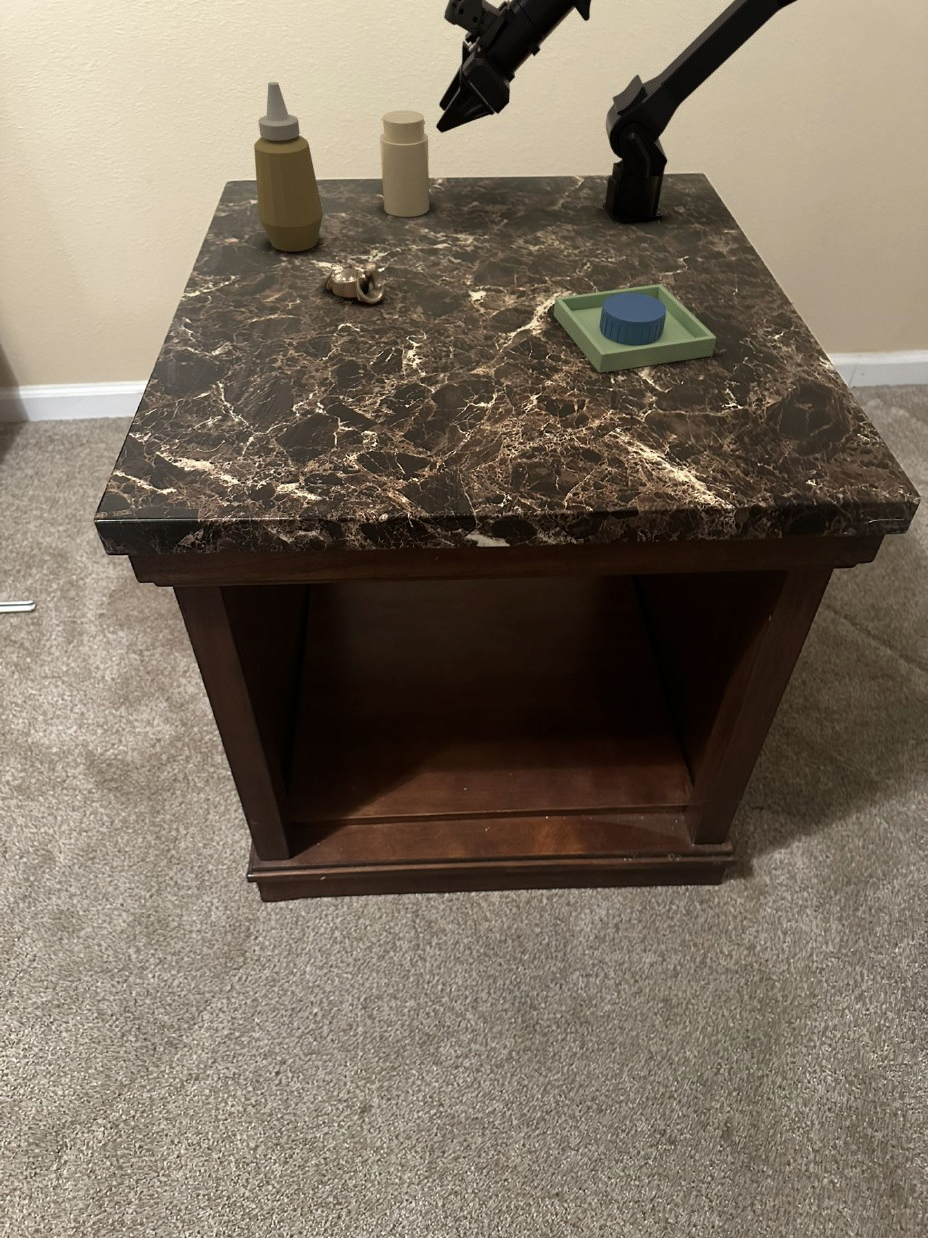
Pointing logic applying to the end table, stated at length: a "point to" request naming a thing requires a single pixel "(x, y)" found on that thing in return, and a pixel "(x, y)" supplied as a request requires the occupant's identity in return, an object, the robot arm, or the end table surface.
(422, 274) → the end table surface
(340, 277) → the ornament
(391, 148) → the jar
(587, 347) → the tray
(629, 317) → the lid
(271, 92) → the squeeze bottle
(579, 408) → the end table surface
